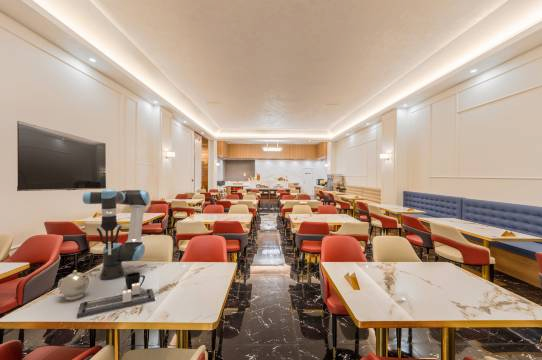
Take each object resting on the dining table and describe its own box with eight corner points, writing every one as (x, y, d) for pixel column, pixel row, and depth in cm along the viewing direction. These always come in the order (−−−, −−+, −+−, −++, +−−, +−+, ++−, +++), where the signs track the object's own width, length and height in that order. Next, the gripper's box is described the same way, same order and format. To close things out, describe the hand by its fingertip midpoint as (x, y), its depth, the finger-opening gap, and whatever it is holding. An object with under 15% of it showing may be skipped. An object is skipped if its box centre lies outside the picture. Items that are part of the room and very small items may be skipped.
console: (80, 306, 139) (80, 300, 139) (152, 291, 158) (152, 286, 158) (77, 318, 127) (77, 312, 127) (154, 300, 145) (154, 295, 146)
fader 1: (122, 299, 141) (122, 290, 141) (130, 298, 143) (130, 288, 143) (122, 302, 138) (122, 293, 138) (131, 300, 140) (131, 291, 140)
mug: (139, 292, 156) (140, 277, 156) (122, 291, 158) (122, 276, 158) (148, 287, 164) (148, 272, 164) (131, 286, 166) (131, 271, 166)
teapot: (95, 292, 156) (95, 266, 156) (77, 303, 142) (77, 274, 142) (68, 292, 157) (68, 266, 157) (47, 302, 144) (47, 273, 144)
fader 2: (131, 292, 150) (131, 283, 150) (139, 290, 152) (139, 282, 153) (132, 295, 147) (132, 286, 147) (139, 293, 149) (139, 284, 149)
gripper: (95, 217, 144) (96, 257, 145) (122, 215, 151) (122, 254, 152) (96, 215, 150) (96, 254, 151) (121, 213, 158) (121, 250, 158)
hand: (109, 254), depth 151 cm, fingers closed
